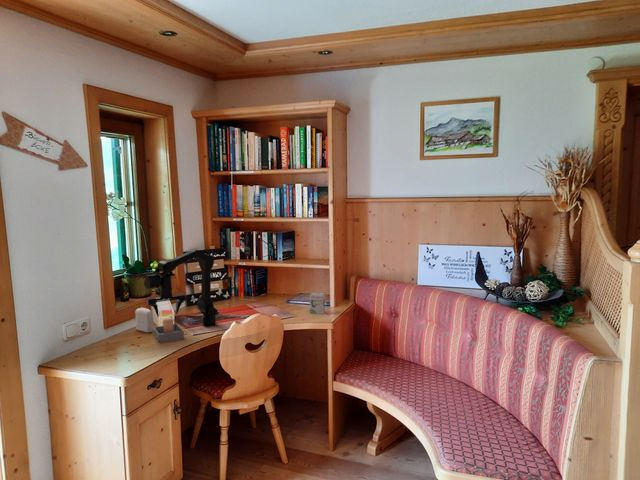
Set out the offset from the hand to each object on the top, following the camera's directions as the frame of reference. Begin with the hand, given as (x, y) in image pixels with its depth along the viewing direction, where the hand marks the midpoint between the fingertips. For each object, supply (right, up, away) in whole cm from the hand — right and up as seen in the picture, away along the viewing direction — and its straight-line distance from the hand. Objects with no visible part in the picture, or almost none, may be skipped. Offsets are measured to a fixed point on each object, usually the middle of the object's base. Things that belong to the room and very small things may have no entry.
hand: (167, 315), depth 238 cm
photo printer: (-16, -10, +12) cm, 22 cm away
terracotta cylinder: (0, -10, +1) cm, 11 cm away
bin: (0, -11, +2) cm, 11 cm away
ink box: (+77, -6, +42) cm, 88 cm away
